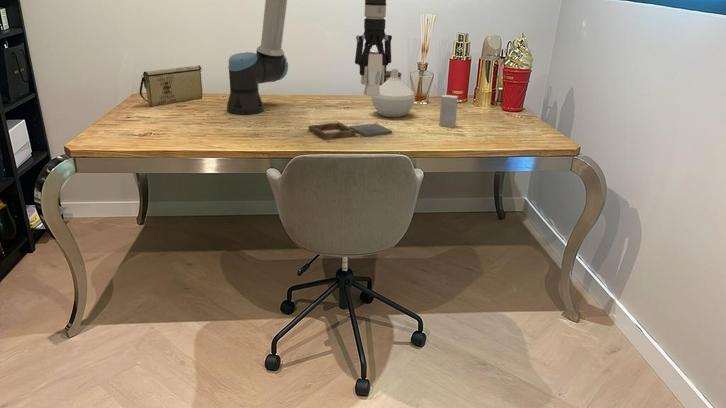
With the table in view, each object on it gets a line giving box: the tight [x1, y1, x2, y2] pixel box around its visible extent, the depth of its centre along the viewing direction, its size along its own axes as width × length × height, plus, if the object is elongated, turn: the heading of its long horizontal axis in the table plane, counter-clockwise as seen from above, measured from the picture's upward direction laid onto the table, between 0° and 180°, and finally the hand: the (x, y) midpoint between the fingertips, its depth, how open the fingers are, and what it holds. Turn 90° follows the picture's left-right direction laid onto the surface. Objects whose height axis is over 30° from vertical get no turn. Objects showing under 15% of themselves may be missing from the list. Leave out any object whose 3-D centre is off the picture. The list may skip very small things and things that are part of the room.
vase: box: [371, 68, 416, 118], centre depth 230 cm, size 18×18×19 cm
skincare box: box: [439, 94, 459, 128], centre depth 218 cm, size 6×4×12 cm
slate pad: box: [348, 123, 393, 138], centre depth 209 cm, size 12×12×1 cm
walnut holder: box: [308, 121, 357, 141], centre depth 204 cm, size 13×13×2 cm
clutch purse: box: [139, 65, 203, 108], centre depth 240 cm, size 30×7×15 cm, turn 139°
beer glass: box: [363, 51, 383, 97], centre depth 200 cm, size 7×7×15 cm
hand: (372, 83), depth 202 cm, fingers closed on beer glass, 7 cm apart
